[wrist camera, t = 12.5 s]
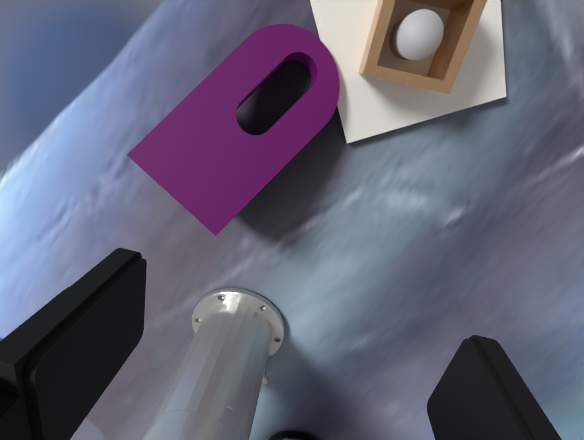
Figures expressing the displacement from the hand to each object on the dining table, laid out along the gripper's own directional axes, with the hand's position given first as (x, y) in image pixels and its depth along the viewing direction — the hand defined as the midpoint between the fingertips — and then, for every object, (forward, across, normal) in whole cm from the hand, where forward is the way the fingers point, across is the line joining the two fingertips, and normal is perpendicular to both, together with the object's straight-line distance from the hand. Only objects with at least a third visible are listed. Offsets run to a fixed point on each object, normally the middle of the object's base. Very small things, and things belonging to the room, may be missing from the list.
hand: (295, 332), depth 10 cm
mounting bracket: (+26, +7, -2) cm, 27 cm away
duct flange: (+25, -5, -11) cm, 28 cm away
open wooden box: (+24, -5, -11) cm, 27 cm away
